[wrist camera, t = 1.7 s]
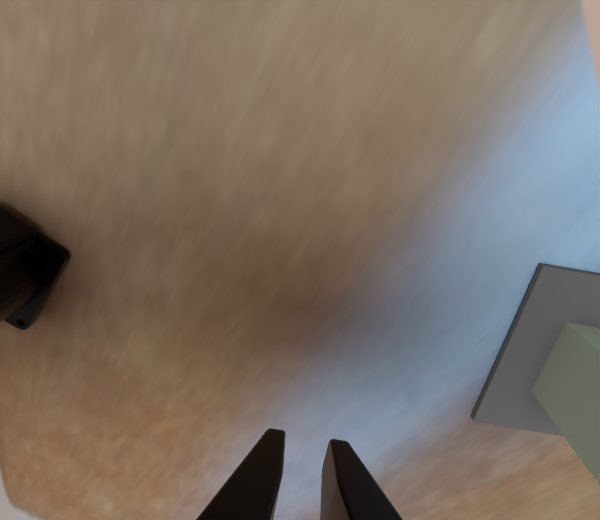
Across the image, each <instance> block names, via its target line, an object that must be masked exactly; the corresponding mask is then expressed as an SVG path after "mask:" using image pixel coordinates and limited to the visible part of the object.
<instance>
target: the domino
mask: <svg viewBox="0 0 600 520" xmlns="http://www.w3.org/2000/svg"><path fill="white" fill-rule="evenodd" d="M531 392H532V393H533V395H534V396H535V397H536V399H537V400H538V401H539V403H540V404H541V406H542V407H543V408H544V410H545V411H546V412H547V414H548V415H549V416H550V418H551V419H552V421H553V422H554V423H555V425H556V426H557V427H558V429H559V430H560V431H561V433H562V434H563V436H564V437H565V438H566V440H567V441H568V442H569V444H570V445H571V446H572V448H573V449H574V450H575V452H576V453H577V455H578V456H579V457H580V459H581V460H582V461H583V463H584V464H585V465H586V467H587V468H588V470H589V471H590V472H591V474H592V475H593V476H594V478H595V479H596V480H597V482H598V483H599V485H600V329H599V328H598V327H592V326H587V325H581V324H575V323H569V322H566V323H565V325H564V327H563V329H562V331H561V333H560V335H559V337H558V339H557V341H556V343H555V345H554V347H553V349H552V351H551V353H550V355H549V357H548V359H547V361H546V363H545V365H544V366H543V368H542V370H541V372H540V374H539V376H538V378H537V380H536V382H535V384H534V386H533V388H532V390H531Z"/></svg>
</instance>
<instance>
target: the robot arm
mask: <svg viewBox="0 0 600 520" xmlns="http://www.w3.org/2000/svg"><path fill="white" fill-rule="evenodd" d="M56 254H58V255H59V256H60V258H58V257H57V256H56ZM68 260H69V254H68V252H67V251H66V250H65V249H64V248H62V247H61V246H59V245H58V244H56V243H55V242H53V241H52V240H50V239H48V238H47V237H45V236H44V235H42V234H41V233H39V232H37V231H36V230H34V229H33V228H32V227H30V226H28V225H27V224H25V223H24V222H22V221H21V220H19V219H18V218H16V217H14V216H13V215H11V214H10V213H8V212H7V211H5V210H3V209H2V208H0V322H1V321H3V320H5V321H6V322H8V323H10V324H12V325H13V326H15V327H17V328H19V329H22V330H25V329H27V328H29V327H30V326H31V325H32V324H33V323H34V321H35V319H36V317H37V316H38V314H39V312H40V310H41V308H42V307H43V305H44V303H45V301H46V299H47V298H48V296H49V294H50V292H51V290H52V289H53V287H54V285H55V283H56V281H57V280H58V278H59V276H60V274H61V272H62V271H63V269H64V267H65V265H66V263H67V262H68ZM22 320H23V321H24V322H23V321H22ZM284 449H285V432H284V431H283V430H277V429H271V428H270V429H268V430H267V431H266V432H265V433H264V435H263V436H262V437H261V438H260V440H259V441H258V442H257V443H256V445H255V446H254V447H253V449H252V450H251V451H250V452H249V454H248V455H247V456H246V457H245V459H244V460H243V461H242V462H241V464H240V465H239V466H238V467H237V469H236V470H235V471H234V473H233V474H232V475H231V476H230V478H229V479H228V480H227V481H226V483H225V484H224V485H223V486H222V488H221V489H220V490H219V492H218V493H217V494H216V495H215V497H214V498H213V499H212V500H211V502H210V503H209V504H208V505H207V507H206V508H205V509H204V510H203V512H202V513H201V514H200V516H199V517H198V518H197V519H196V520H273V517H274V512H275V507H276V502H277V498H278V493H279V488H280V483H281V479H282V474H283V464H284ZM320 520H403V519H402V518H401V517H400V515H399V514H398V512H397V511H396V510H395V508H394V507H393V505H392V504H391V502H390V501H389V500H388V498H387V497H386V495H385V494H384V493H383V491H382V490H381V488H380V487H379V485H378V484H377V483H376V481H375V480H374V478H373V477H372V475H371V474H370V473H369V471H368V470H367V468H366V467H365V466H364V464H363V463H362V461H361V460H360V458H359V457H358V456H357V454H356V453H355V451H354V450H353V449H352V447H351V446H350V444H349V443H348V442H347V441H343V440H337V439H331V440H330V442H329V444H328V448H327V452H326V456H325V459H324V463H323V469H322V486H321V516H320Z"/></svg>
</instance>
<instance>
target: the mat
mask: <svg viewBox="0 0 600 520" xmlns="http://www.w3.org/2000/svg"><path fill="white" fill-rule="evenodd" d="M566 322H569V323H575V324H581V325H587V326H592V327H598V328H599V329H600V274H599V273H593V272H587V271H582V270H576V269H570V268H565V267H559V266H553V265H547V264H542V263H539V265H538V267H537V270H536V272H535V274H534V276H533V279H532V281H531V283H530V285H529V287H528V290H527V292H526V294H525V296H524V299H523V301H522V303H521V305H520V308H519V310H518V312H517V314H516V316H515V319H514V321H513V323H512V325H511V328H510V330H509V332H508V334H507V337H506V339H505V341H504V343H503V345H502V348H501V350H500V352H499V354H498V357H497V359H496V361H495V363H494V366H493V368H492V370H491V372H490V375H489V377H488V379H487V381H486V383H485V386H484V388H483V390H482V392H481V395H480V397H479V399H478V401H477V404H476V406H475V408H474V410H473V412H472V415H471V417H472V419H473V421H478V422H484V423H489V424H495V425H501V426H507V427H513V428H519V429H525V430H531V431H537V432H542V433H548V434H554V435H560V436H563V434H562V433H561V431H560V430H559V429H558V427H557V426H556V425H555V423H554V422H553V421H552V419H551V418H550V416H549V415H548V414H547V412H546V411H545V410H544V408H543V407H542V406H541V404H540V403H539V401H538V400H537V399H536V397H535V396H534V395H533V393H532V392H531V390H532V388H533V386H534V384H535V382H536V380H537V378H538V376H539V374H540V372H541V370H542V368H543V366H544V365H545V363H546V361H547V359H548V357H549V355H550V353H551V351H552V349H553V347H554V345H555V343H556V341H557V339H558V337H559V335H560V333H561V331H562V329H563V327H564V325H565V323H566Z"/></svg>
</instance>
